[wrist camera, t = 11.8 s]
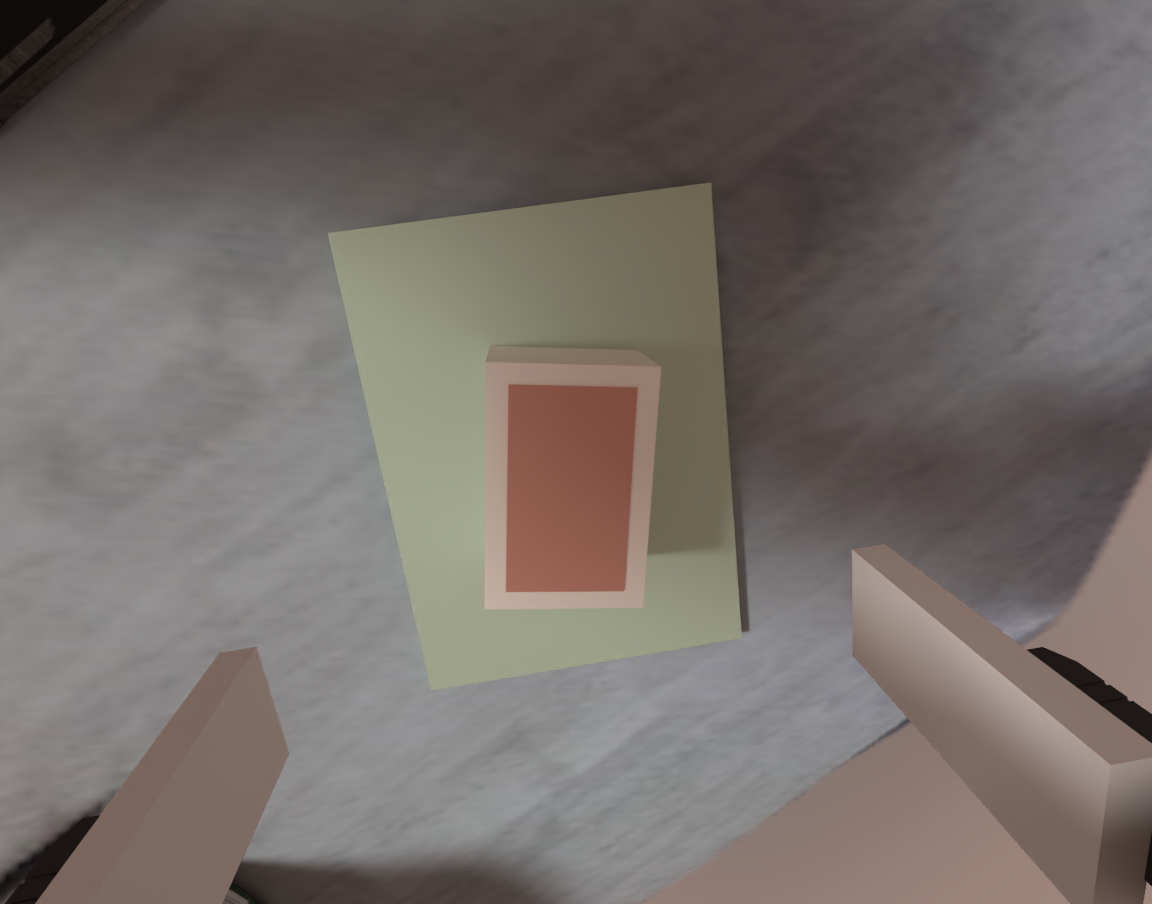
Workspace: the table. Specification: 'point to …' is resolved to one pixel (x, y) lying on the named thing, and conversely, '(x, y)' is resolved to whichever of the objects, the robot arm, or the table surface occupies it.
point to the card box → (568, 476)
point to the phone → (48, 42)
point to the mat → (457, 410)
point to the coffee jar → (237, 896)
